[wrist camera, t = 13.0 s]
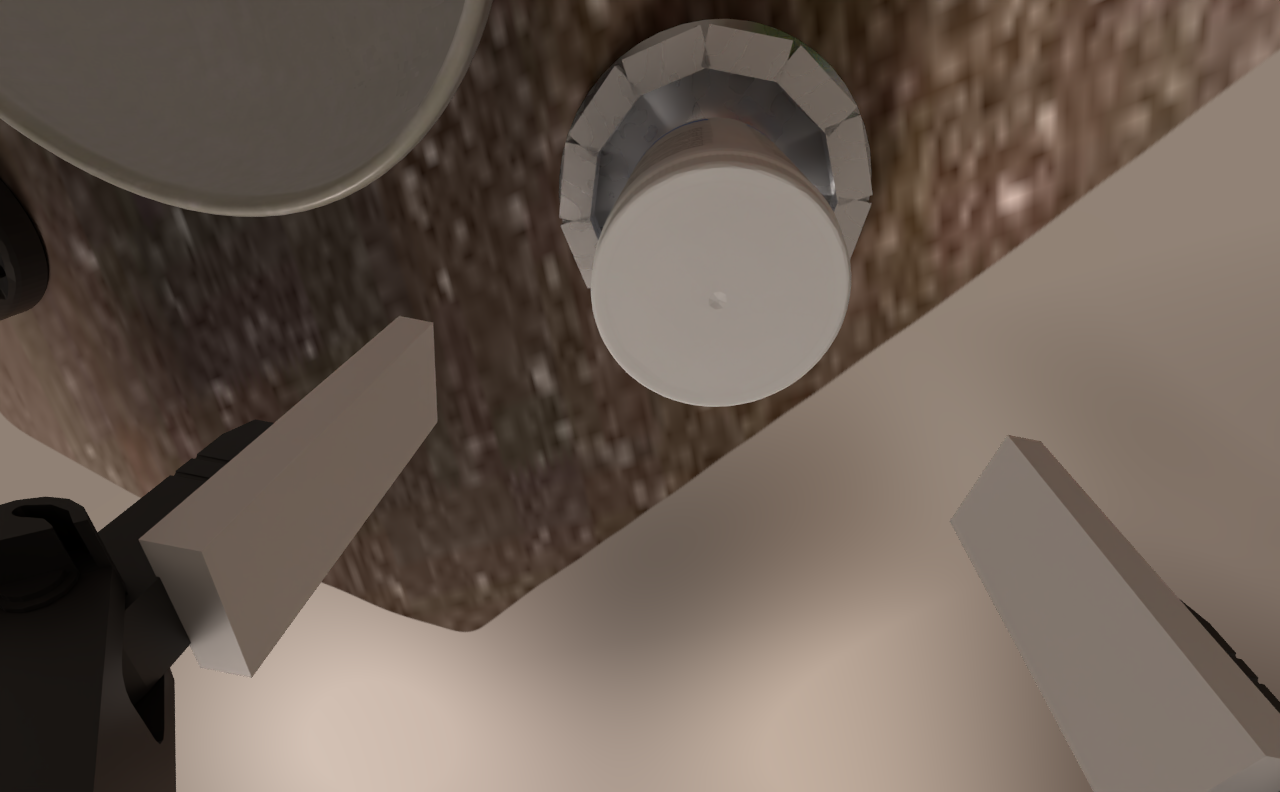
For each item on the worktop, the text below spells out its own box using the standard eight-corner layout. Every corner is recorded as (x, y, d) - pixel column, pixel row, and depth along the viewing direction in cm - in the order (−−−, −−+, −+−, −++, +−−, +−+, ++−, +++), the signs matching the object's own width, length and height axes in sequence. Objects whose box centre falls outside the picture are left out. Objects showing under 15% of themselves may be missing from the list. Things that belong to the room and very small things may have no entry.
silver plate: (511, 99, 31) (497, 103, 29) (836, -46, 26) (847, -56, 24) (625, 365, 39) (620, 382, 37) (887, 291, 35) (898, 306, 32)
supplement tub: (627, 279, 35) (582, 403, 22) (629, 111, 30) (572, 150, 17) (781, 288, 34) (825, 422, 21) (810, 117, 29) (890, 163, 16)
